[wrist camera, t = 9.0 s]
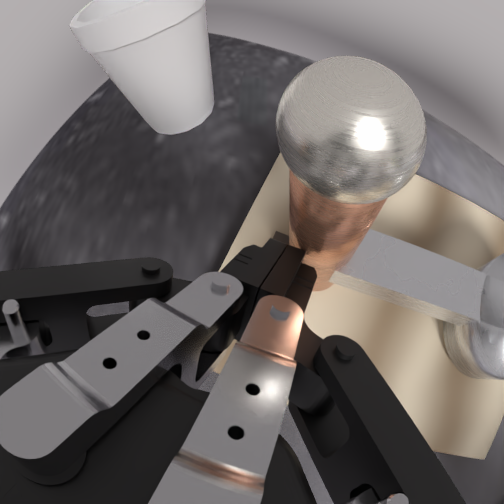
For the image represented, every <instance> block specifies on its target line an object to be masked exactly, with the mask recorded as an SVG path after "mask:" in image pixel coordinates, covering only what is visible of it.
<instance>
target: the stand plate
mask: <svg viewBox="0 0 504 504" xmlns="http://www.w3.org/2000/svg"><path fill="white" fill-rule="evenodd" d="M370 229H372V230H375V231H377V232H380V233H383V234H386V235H389V236H391V237H394V238H397V239H400V240H402V241H405V242H408V243H410V244H413V245H416V246H418V247H421V248H424V249H426V250H429V251H431V252H434V253H436V254H439V255H441V256H444V257H446V258H449V259H451V260H454V261H456V262H459V263H461V264H464V265H466V266H468V267H471V268H473V269H478V268H479V267H481V266H483V265H485V264H486V263H488V262H490V261H491V260H493V259H495V258H496V257H498V256H500V255H501V254H503V253H504V221H503V220H502V219H500V218H498V217H497V216H495V215H493V214H492V213H490V212H488V211H486V210H485V209H483V208H481V207H479V206H478V205H476V204H474V203H472V202H470V201H468V200H467V199H465V198H463V197H461V196H459V195H457V194H455V193H453V192H451V191H449V190H447V189H445V188H443V187H441V186H439V185H437V184H435V183H433V182H431V181H429V180H427V179H425V178H423V177H420V176H418V175H416V174H415V175H414V176H413V178H412V179H411V180H410V181H409V182H408V184H407V185H406V186H404V187H403V188H402V189H401V190H399V191H398V192H397V193H395V194H394V195H392V196H390V197H388V198H387V200H386V202H385V204H384V205H383V207H382V209H381V210H380V212H379V214H378V216H377V217H376V219H375V221H374V222H373V224H372V226H371V227H370ZM270 238H272V239H275V240H278V241H281V242H283V243H286V244H288V245H289V167H288V166H287V164H286V162H285V160H284V158H283V156H282V154H281V152H280V154H279V156H278V158H277V160H276V162H275V163H274V165H273V167H272V169H271V171H270V173H269V175H268V177H267V179H266V180H265V182H264V184H263V186H262V188H261V190H260V192H259V194H258V196H257V198H256V200H255V201H254V203H253V205H252V207H251V209H250V211H249V213H248V215H247V217H246V219H245V221H244V223H243V225H242V227H241V229H240V230H239V232H238V234H237V236H236V238H235V240H234V242H233V244H232V246H231V248H230V250H229V252H228V254H227V256H226V258H225V260H224V262H223V264H222V266H221V268H220V270H219V272H220V271H221V270H222V269H223V268H224V267H225V266H226V265H227V264H228V263H229V262H230V261H231V260H232V259H233V258H234V257H235V256H236V255H237V254H238V253H239V252H240V251H241V250H242V249H243V248H244V247H247V246H250V245H253V244H254V245H257V246H259V247H263V246H264V245H265V243H266V242H267V241H268V240H269V239H270ZM304 319H305V322H306V324H307V326H308V327H309V328H310V329H311V330H312V331H313V332H314V333H315V334H316V335H318V336H319V337H321V338H322V339H324V338H326V337H327V336H330V335H342V336H345V337H348V338H350V339H352V340H354V341H355V342H357V343H358V344H359V345H360V346H361V347H362V348H363V350H364V351H365V352H366V354H367V355H368V357H369V358H370V360H371V361H372V362H373V364H374V365H375V367H376V368H377V369H378V371H379V372H380V374H381V375H382V377H383V378H384V379H385V381H386V382H387V384H388V385H389V387H390V388H391V390H392V391H393V392H394V394H395V395H396V397H397V398H398V400H399V401H400V403H401V404H402V406H403V407H404V409H405V410H406V411H407V413H408V414H409V416H410V417H411V419H412V420H413V422H414V423H415V425H416V426H417V428H418V429H419V431H420V432H421V434H422V435H423V437H424V438H425V440H426V441H427V443H428V445H429V446H430V448H431V449H432V451H436V452H441V453H446V454H451V455H456V456H462V457H469V458H475V459H482V460H484V459H485V457H486V455H487V453H488V451H489V449H490V447H491V444H492V442H493V440H494V438H495V435H496V433H497V431H498V428H499V426H500V423H501V421H502V418H503V415H504V380H493V379H474V378H470V377H468V376H466V375H464V374H463V373H461V372H460V371H459V370H458V369H457V368H456V367H455V365H454V364H453V362H452V361H451V359H450V357H449V355H448V352H447V349H446V346H445V341H444V334H443V320H440V319H437V318H434V317H431V316H428V315H425V314H422V313H419V312H416V311H414V310H411V309H408V308H405V307H402V306H399V305H396V304H393V303H390V302H387V301H384V300H381V299H378V298H375V297H372V296H369V295H366V294H363V293H360V292H357V291H355V290H352V289H349V288H346V287H343V286H340V285H337V284H333V285H332V286H331V287H329V288H328V289H326V290H323V291H312V293H311V296H310V299H309V302H308V304H307V307H306V310H305V313H304ZM236 341H237V340H235V339H234V340H233V341H232V343H231V345H230V346H229V347H228V349H227V353H226V355H225V356H224V358H223V359H222V360H221V361H220V363H219V364H218V365H217V366H216V367H215V369H214V370H213V371H215V372H217V373H219V374H220V373H221V371H222V369H223V367H224V365H225V363H226V361H227V359H228V357H229V355H230V353H231V351H232V349H233V347H234V345H235V343H236ZM288 402H289V400H288V401H287V404H286V405H288Z"/></svg>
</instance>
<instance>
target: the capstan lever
mask: <svg viewBox="0 0 504 504" xmlns="http://www.w3.org/2000/svg"><path fill="white" fill-rule="evenodd" d="M276 135H277V140H278V145H279V148H280V151H281V154H282V156H283V158H284V160H285V162H286V164H287V166H288V167H289V245H291V246H294V247H297V248H299V249H302V250H304V251H306V254H305V257H304V260H303V263H304V264H306V265H309V266H312V267H314V268H315V270H316V273H317V279H316V282H315V284H314V287H313V290H312V291H323V290H326V289H328V288H329V287H331V286H332V285H333V284H337V285H340V286H343V287H346V288H349V289H352V290H355V291H357V292H360V293H363V294H366V295H369V296H372V297H375V298H378V299H381V300H384V301H387V302H390V303H393V304H396V305H399V306H402V307H405V308H408V309H411V310H414V311H416V312H419V313H422V314H425V315H428V316H431V317H434V318H437V319H440V320H443V334H444V341H445V346H446V349H447V352H448V355H449V357H450V359H451V361H452V362H453V364H454V365H455V367H456V368H457V369H458V370H459V371H460V372H461V373H463V374H464V375H466V376H468V377H470V378H474V379H493V380H504V253H503V254H501V255H500V256H498V257H496V258H495V259H493V260H491V261H490V262H488V263H486V264H485V265H483V266H481V267H479V268H478V269H473V268H471V267H468V266H466V265H464V264H461V263H459V262H456V261H454V260H451V259H449V258H446V257H444V256H441V255H439V254H436V253H434V252H431V251H429V250H426V249H424V248H421V247H418V246H416V245H413V244H410V243H408V242H405V241H402V240H400V239H397V238H394V237H391V236H389V235H386V234H383V233H380V232H377V231H375V230H372V229H370V227H371V226H372V224H373V222H374V221H375V219H376V217H377V216H378V214H379V212H380V210H381V209H382V207H383V205H384V204H385V202H386V200H387V198H388V197H390V196H392V195H394V194H395V193H397V192H398V191H399V190H401V189H402V188H403V187H404V186H406V185H407V184H408V182H409V181H410V180H411V179H412V178H413V176H414V175H415V174H416V172H417V170H418V168H419V166H420V164H421V162H422V159H423V156H424V153H425V149H426V141H427V130H426V122H425V117H424V113H423V111H422V108H421V106H420V103H419V101H418V99H417V98H416V96H415V94H414V93H413V91H412V90H411V88H410V87H409V86H408V84H407V83H405V81H404V80H403V79H402V78H401V77H400V76H399V75H397V74H396V73H395V72H394V71H392V70H391V69H389V68H387V67H386V66H384V65H382V64H380V63H378V62H376V61H373V60H370V59H367V58H363V57H357V56H335V57H330V58H326V59H323V60H320V61H317V62H315V63H313V64H311V65H310V66H308V67H306V68H305V69H303V70H302V71H301V72H300V73H299V74H297V75H296V76H295V77H294V78H293V79H292V81H291V82H290V83H289V85H288V86H287V88H286V89H285V91H284V93H283V95H282V97H281V100H280V102H279V105H278V110H277V115H276Z"/></svg>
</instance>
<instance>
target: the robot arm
mask: <svg viewBox="0 0 504 504" xmlns="http://www.w3.org/2000/svg"><path fill="white" fill-rule="evenodd" d="M305 254H306V251H304V250H302V249H299V248H297V247H294V246H291V245H288V244H286V243H283V242H281V241H278V240H275V239H272V238H270V239H269V240H268V241H267V242H266V243H265V245H264V246H263V247H259V246H257V245H254V244H253V245H250V246H247V247H244V248H243V249H242V250H241V251H240V252H239V253H238V254H237V255H236V256H235V257H234V258H233V259H232V260H231V261H230V262H229V263H228V264H227V265H226V266H225V267H224V268H223V269H222V270H221V271H220V272H208V273H205V274H203V275H201V276H200V277H199V278H197V279H196V280H195V281H193V282H191V281H186V280H181V279H176V278H173V269H172V267H171V265H170V264H168V263H167V262H165V261H163V260H161V259H157V258H150V257H148V258H136V259H125V260H114V261H104V262H93V263H82V264H72V265H61V266H51V267H41V268H30V269H20V270H10V271H0V504H317V503H316V500H315V498H314V495H313V493H312V491H311V488H310V486H309V484H308V481H307V479H306V476H305V474H304V471H303V469H302V467H301V464H300V462H299V460H298V457H297V456H296V454H295V452H294V451H293V449H292V448H291V446H290V445H289V444H288V443H287V441H286V440H285V439H284V438H283V437H282V436H281V435H280V434H279V430H280V427H281V423H282V419H283V416H284V412H285V408H286V404H287V401H288V400H289V402H288V407H289V410H290V413H291V415H292V417H293V419H294V421H295V424H296V426H297V428H298V430H299V432H300V434H301V436H302V439H303V441H304V443H305V445H306V447H307V449H308V451H309V453H310V456H311V458H312V460H313V462H314V464H315V466H316V468H317V470H318V472H319V474H320V476H321V478H322V480H323V483H324V485H325V487H326V489H327V491H328V493H329V495H330V497H331V499H332V501H333V503H334V504H466V503H465V501H464V500H463V498H462V497H461V495H460V493H459V492H458V490H457V488H456V487H455V485H454V484H453V482H452V480H451V479H450V477H449V476H448V474H447V472H446V471H445V469H444V468H443V466H442V465H441V463H440V462H439V460H438V458H437V457H436V455H435V454H434V452H433V451H432V449H431V448H430V446H429V445H428V443H427V441H426V440H425V438H424V437H423V435H422V434H421V432H420V431H419V429H418V428H417V426H416V425H415V423H414V422H413V420H412V419H411V417H410V416H409V414H408V413H407V411H406V410H405V409H404V407H403V406H402V404H401V403H400V401H399V400H398V398H397V397H396V395H395V394H394V392H393V391H392V390H391V388H390V387H389V385H388V384H387V382H386V381H385V379H384V378H383V377H382V375H381V374H380V372H379V371H378V369H377V368H376V367H375V365H374V364H373V362H372V361H371V360H370V358H369V357H368V355H367V354H366V352H365V351H364V350H363V348H362V347H361V346H360V345H359V344H358V343H357V342H355V341H354V340H352V339H350V338H348V337H345V336H342V335H330V336H327V337H326V338H324V339H322V338H321V337H319V336H318V335H316V334H315V333H314V332H313V331H312V330H311V329H310V328H309V327H308V326H307V324H306V322H305V319H304V313H305V310H306V307H307V304H308V302H309V299H310V296H311V293H312V290H313V287H314V284H315V282H316V279H317V273H316V270H315V268H314V267H312V266H309V265H306V264H304V263H303V260H304V257H305ZM126 301H129V313H121V314H114V315H106V316H99V317H91V316H89V315H87V314H86V312H87V310H88V309H89V308H90V307H92V306H95V305H102V304H110V303H118V302H126ZM234 339H235V340H237V341H236V343H235V345H234V347H233V349H232V351H231V353H230V355H229V357H228V359H227V361H226V363H225V365H224V367H223V369H222V371H221V373H220V375H219V377H218V379H217V380H216V382H215V384H214V386H213V388H212V390H211V392H210V393H209V392H205V391H202V390H198V388H199V387H200V386H201V385H202V383H203V382H204V381H205V380H206V379H207V377H208V376H209V375H210V374H211V372H212V371H213V370H214V369H215V367H216V366H217V365H218V364H219V363H220V361H221V360H222V359H223V358H224V356H225V355H226V353H227V349H228V347H229V346H230V345H231V343H232V341H233V340H234Z"/></svg>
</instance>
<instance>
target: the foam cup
mask: <svg viewBox="0 0 504 504" xmlns="http://www.w3.org/2000/svg"><path fill="white" fill-rule="evenodd" d="M205 1H206V0H93V1H91V2H90V3H88V4H87V5H86V6H85V7H83V8H82V9H81V10H80V11H79V12H78V13H77V14H76V15H75V16H74V17H73V19H72V20H71V22H70V25H69V27H70V29H71V30H72V32H73V34H74V35H75V37H76V39H77V41H78V42H79V44H80V46H81V47H82V49H84V50H86V51H88V52H89V53H90V54H91V55H92V57H93V58H94V59H95V60H96V62H97V63H98V64H99V65H100V66H101V68H102V69H103V70H104V71H105V72H106V74H107V75H108V76H109V77H110V79H111V80H112V81H113V82H114V83H115V85H116V86H117V87H118V88H119V89H120V91H121V92H122V93H123V94H124V95H125V97H126V98H127V99H128V100H129V102H130V103H131V104H132V105H133V106H134V108H135V109H136V110H137V111H138V112H139V114H140V115H141V116H142V117H143V119H144V120H145V121H146V122H147V123H148V124H149V125H150V127H151V128H153V129H154V130H155V131H156V132H158V133H161V134H169V135H173V134H177V133H182V132H186V131H189V130H190V129H192V128H194V127H196V126H198V125H200V124H201V123H202V122H203V121H204V120H205V119H206V118H207V117H208V116H209V115H210V114H211V113H212V109H213V106H214V91H213V82H212V71H211V61H210V51H209V40H208V29H207V17H206V6H205Z"/></svg>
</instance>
